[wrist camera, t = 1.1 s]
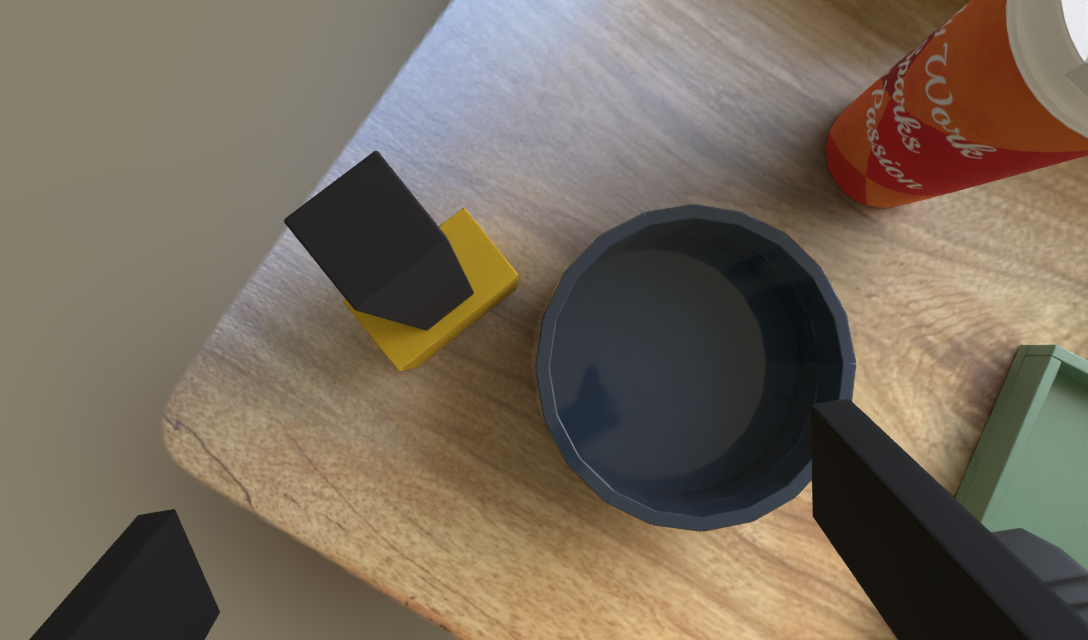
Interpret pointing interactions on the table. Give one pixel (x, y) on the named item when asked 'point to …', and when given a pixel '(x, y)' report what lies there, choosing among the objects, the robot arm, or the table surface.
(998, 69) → the paper cup
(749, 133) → the table surface
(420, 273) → the sponge wand
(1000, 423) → the green rectangular tray
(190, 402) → the table surface
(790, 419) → the bowl
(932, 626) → the robot arm
